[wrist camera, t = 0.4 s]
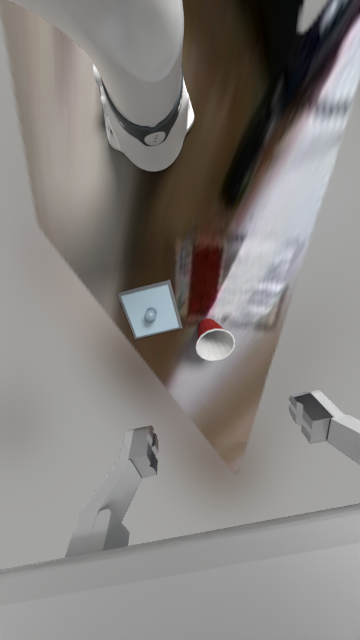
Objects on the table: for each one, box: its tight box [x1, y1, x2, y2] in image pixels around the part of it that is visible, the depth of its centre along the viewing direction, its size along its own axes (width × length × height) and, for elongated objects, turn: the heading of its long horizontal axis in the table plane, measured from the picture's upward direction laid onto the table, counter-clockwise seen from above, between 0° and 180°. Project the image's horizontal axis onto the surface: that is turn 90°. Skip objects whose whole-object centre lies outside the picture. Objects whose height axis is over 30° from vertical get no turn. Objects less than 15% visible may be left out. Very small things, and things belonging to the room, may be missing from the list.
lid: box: [121, 284, 179, 337], centre depth 52 cm, size 14×14×5 cm
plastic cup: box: [196, 319, 235, 361], centre depth 53 cm, size 11×11×12 cm
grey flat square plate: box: [117, 280, 182, 339], centre depth 55 cm, size 16×16×1 cm
